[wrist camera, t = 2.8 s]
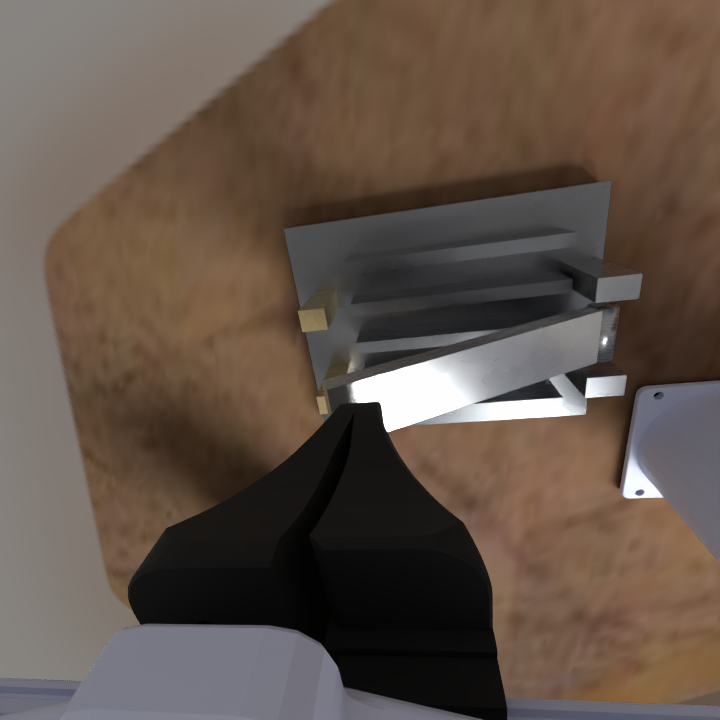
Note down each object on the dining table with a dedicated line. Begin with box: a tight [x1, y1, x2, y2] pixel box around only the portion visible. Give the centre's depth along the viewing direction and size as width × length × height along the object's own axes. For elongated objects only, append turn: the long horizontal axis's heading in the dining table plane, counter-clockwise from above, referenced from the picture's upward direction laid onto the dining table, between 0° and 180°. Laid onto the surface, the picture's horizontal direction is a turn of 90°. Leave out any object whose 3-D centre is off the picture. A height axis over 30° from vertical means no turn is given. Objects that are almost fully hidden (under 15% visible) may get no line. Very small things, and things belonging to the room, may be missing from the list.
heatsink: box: [284, 181, 643, 426], centre depth 19 cm, size 15×12×5 cm
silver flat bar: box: [321, 302, 620, 432], centre depth 15 cm, size 13×2×1 cm, turn 98°
